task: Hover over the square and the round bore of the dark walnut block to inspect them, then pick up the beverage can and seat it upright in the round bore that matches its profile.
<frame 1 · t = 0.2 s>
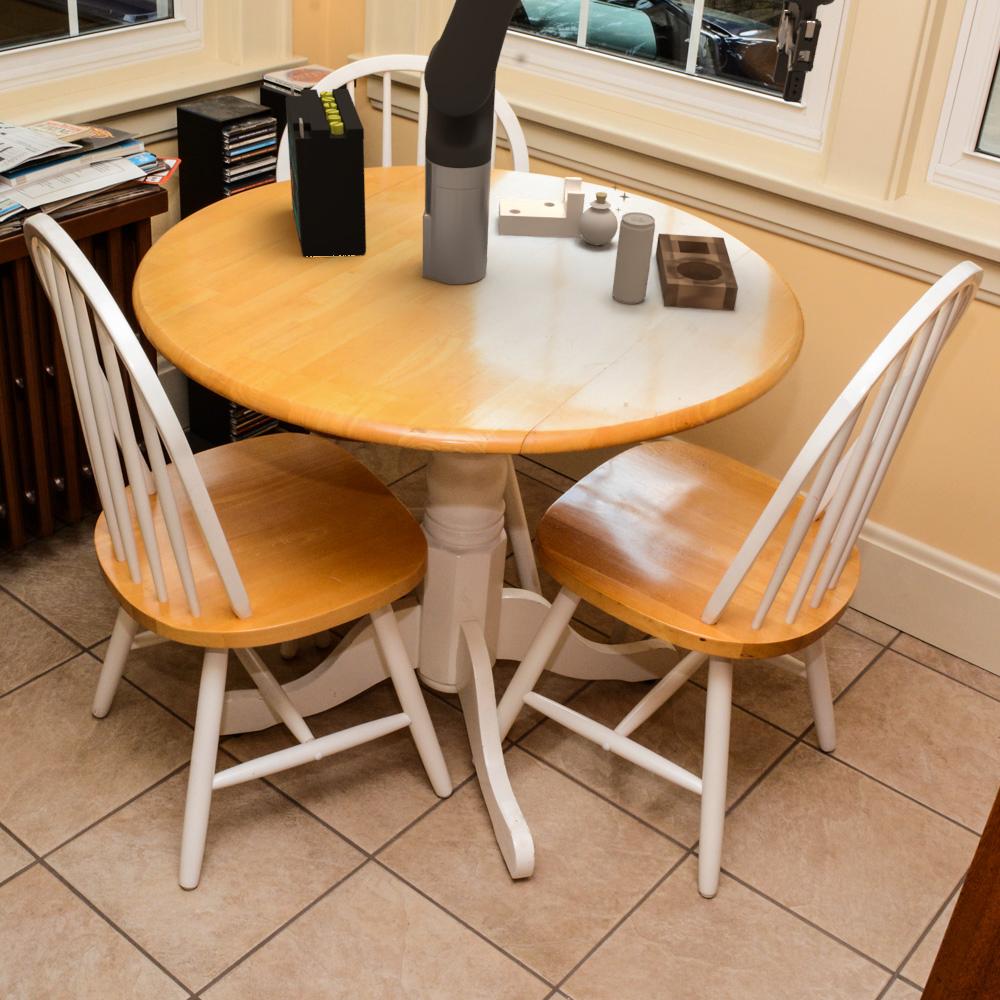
hand: (785, 91, 149), 29 cm above the table, fingers open, 8 cm apart
battery: (328, 233, 176), on the table
beverage can: (628, 299, 162), on the table
round potion bottle: (600, 245, 177), on the table
bracket: (538, 230, 181), on the table
walnut bore block: (695, 293, 164), on the table
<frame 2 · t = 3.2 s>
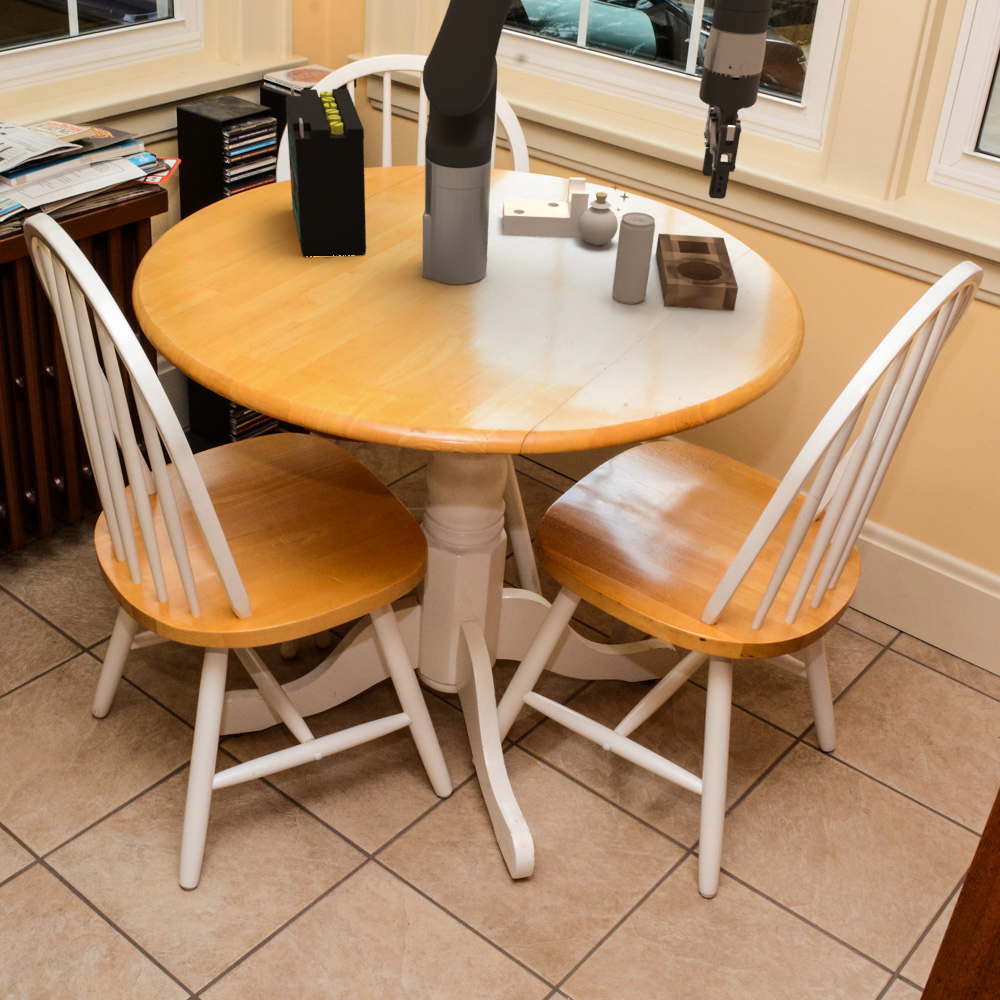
hand: (713, 186, 155), 16 cm above the table, fingers open, 8 cm apart
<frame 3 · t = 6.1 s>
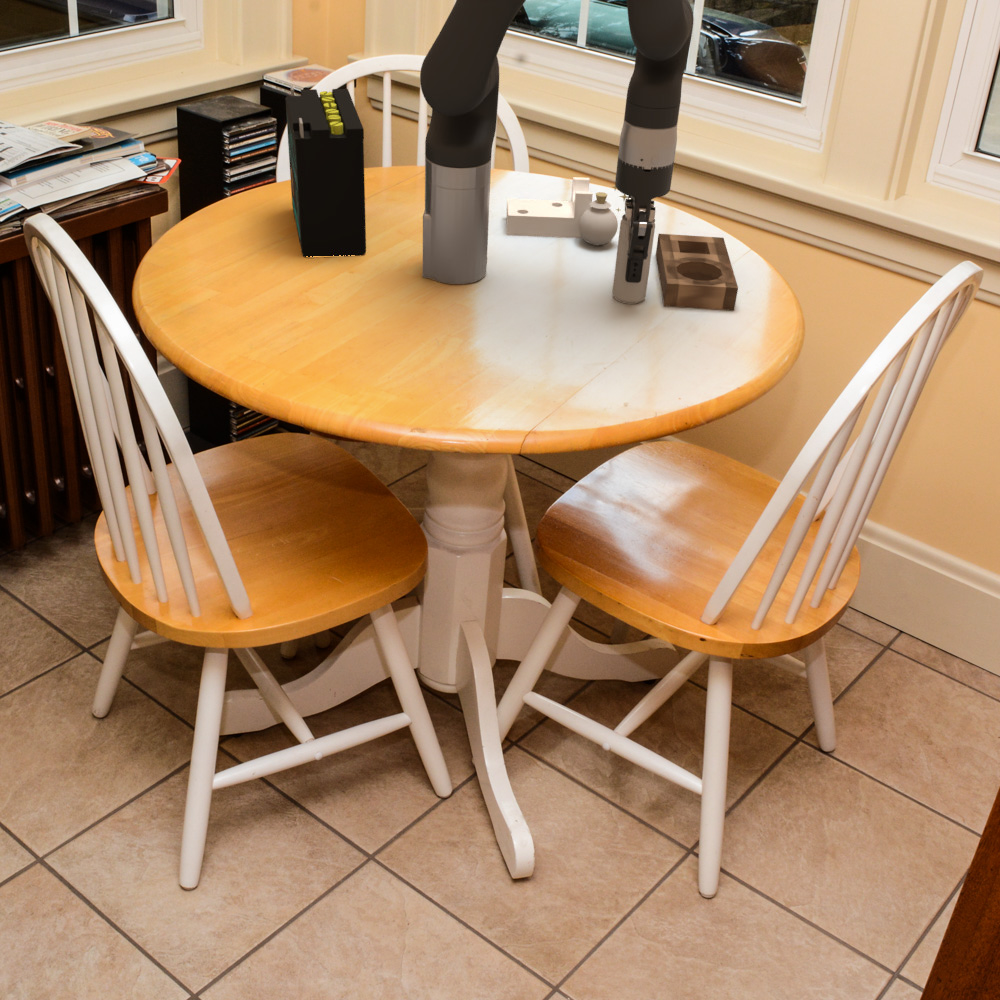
hand: (631, 272, 159), 4 cm above the table, fingers closed on beverage can, 4 cm apart
beverage can: (628, 299, 162), on the table, touching gripper
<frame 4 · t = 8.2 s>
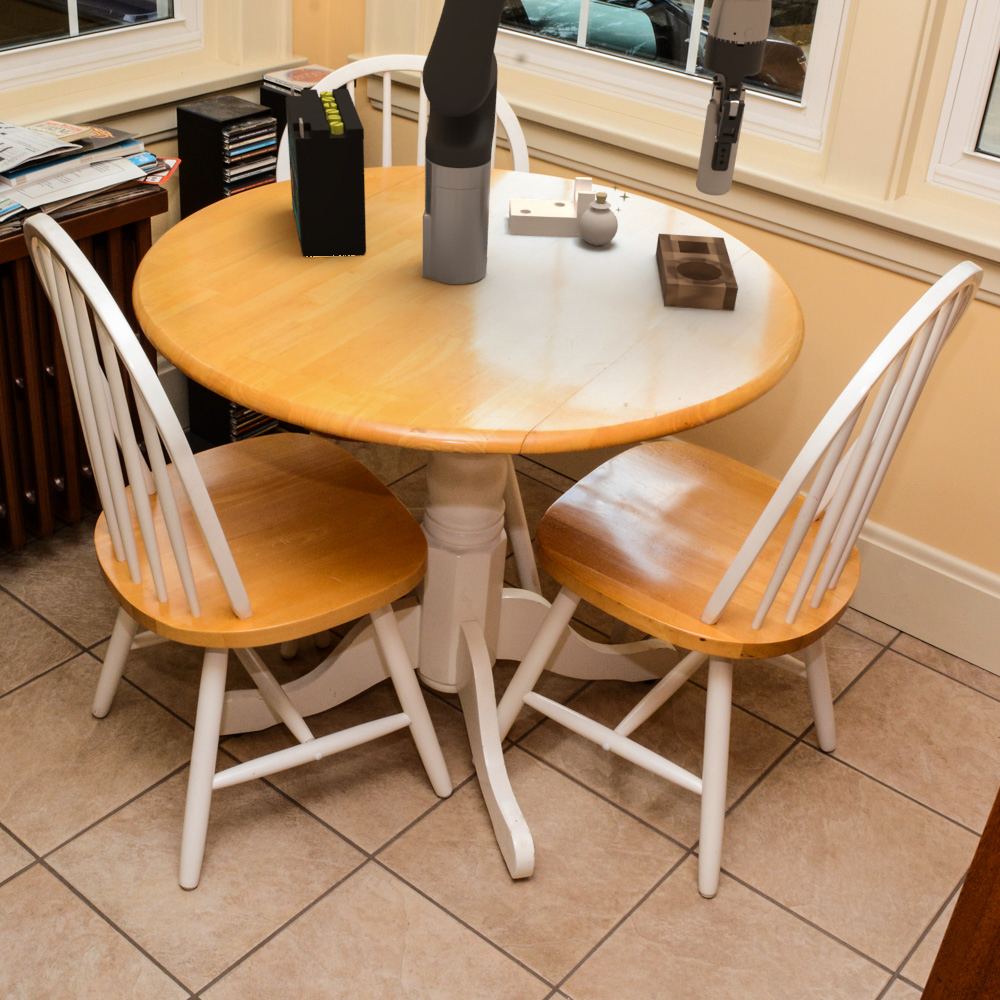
hand: (716, 162, 152), 19 cm above the table, fingers closed on beverage can, 4 cm apart
beverage can: (712, 191, 155), point 15 cm above the table, touching gripper
when the fingers open (5 cm above the table, at t = 11.3 s): beverage can stays where it is, resting in walnut bore block.
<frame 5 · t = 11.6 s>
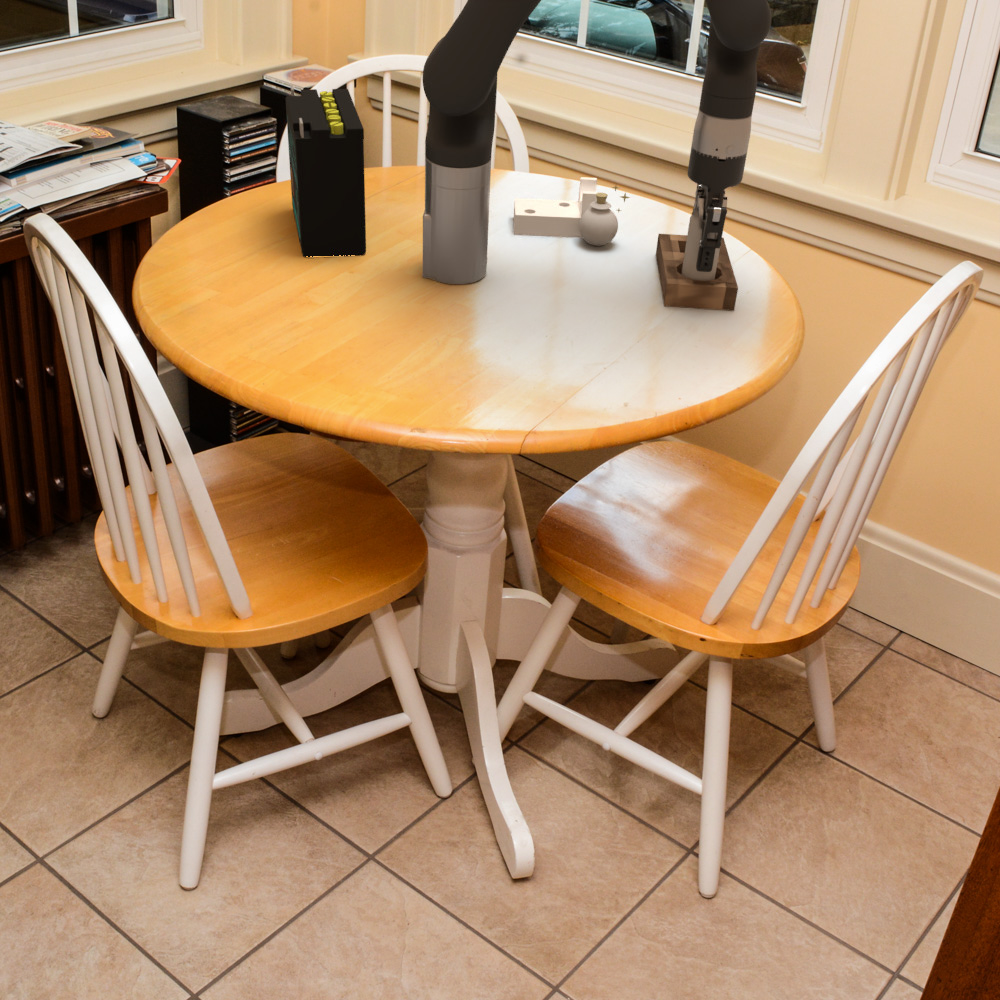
hand: (701, 259, 161), 5 cm above the table, fingers open, 6 cm apart
beverage can: (695, 294, 164), resting in walnut bore block
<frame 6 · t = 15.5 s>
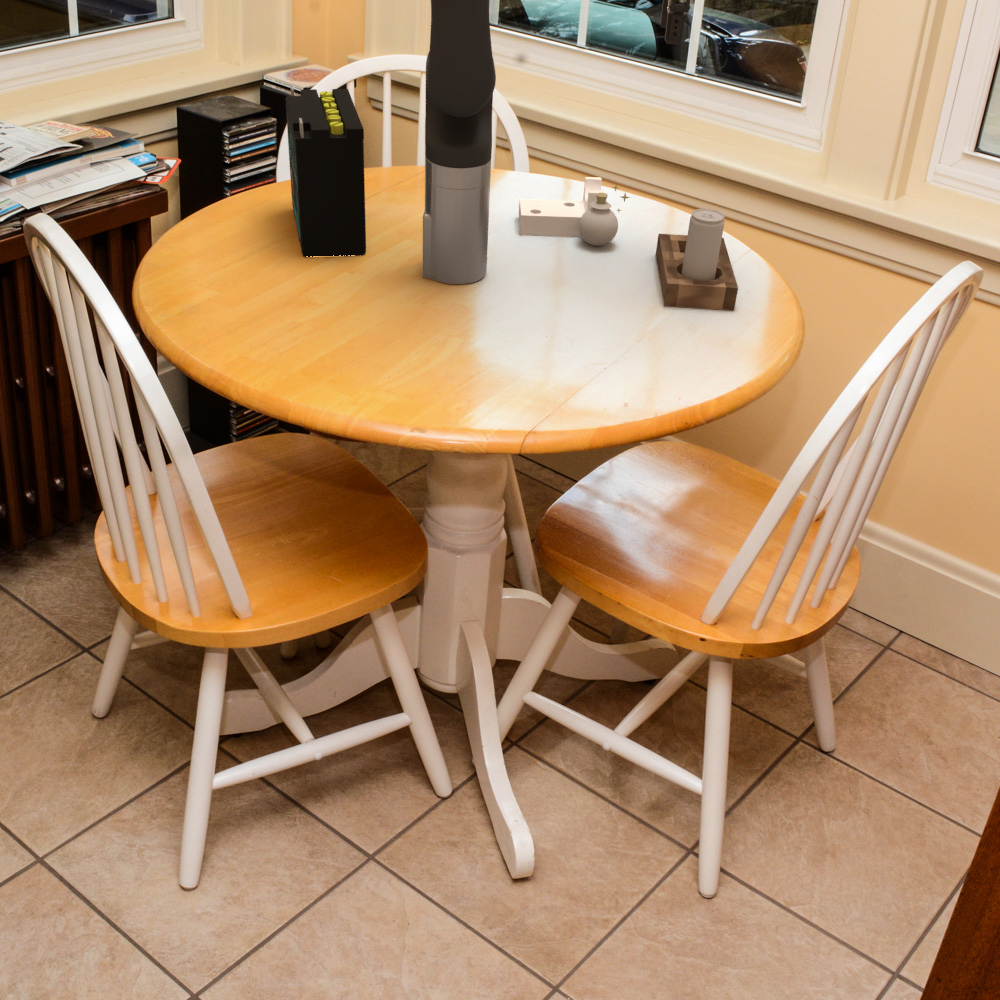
hand: (670, 35, 153), 33 cm above the table, fingers open, 8 cm apart
at the end: beverage can 0.0 cm from the walnut bore block (horizontally); beverage can touching table; beverage can tilted 0° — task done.
